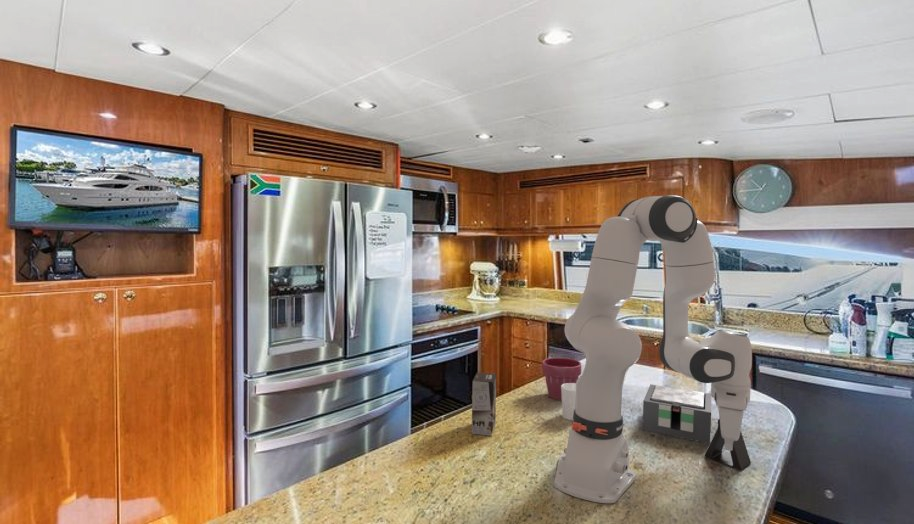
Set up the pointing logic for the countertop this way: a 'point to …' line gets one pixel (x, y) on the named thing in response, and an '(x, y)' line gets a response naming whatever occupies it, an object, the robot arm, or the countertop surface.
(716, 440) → the phone stand
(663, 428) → the scale housing
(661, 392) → the pan
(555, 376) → the plant pot
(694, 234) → the robot arm
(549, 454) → the countertop surface
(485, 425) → the coffee box
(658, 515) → the countertop surface
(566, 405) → the white cup
